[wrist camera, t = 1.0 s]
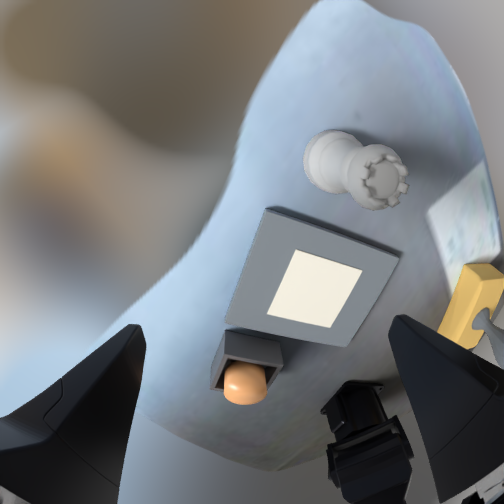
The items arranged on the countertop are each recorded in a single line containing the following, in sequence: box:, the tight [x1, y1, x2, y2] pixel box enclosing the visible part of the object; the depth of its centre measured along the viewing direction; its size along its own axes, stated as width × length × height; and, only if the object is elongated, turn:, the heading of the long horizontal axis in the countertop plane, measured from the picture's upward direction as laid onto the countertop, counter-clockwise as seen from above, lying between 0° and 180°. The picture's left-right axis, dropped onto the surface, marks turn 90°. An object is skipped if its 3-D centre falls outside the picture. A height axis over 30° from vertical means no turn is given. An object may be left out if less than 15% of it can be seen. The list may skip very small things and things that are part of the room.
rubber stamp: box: [437, 263, 504, 369], centre depth 19 cm, size 10×6×12 cm, turn 178°
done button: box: [224, 360, 267, 405], centre depth 22 cm, size 4×4×2 cm
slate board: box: [225, 208, 399, 347], centre depth 22 cm, size 12×10×1 cm
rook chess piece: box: [303, 130, 409, 211], centre depth 14 cm, size 4×4×8 cm
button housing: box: [210, 330, 284, 392], centre depth 24 cm, size 5×5×3 cm
